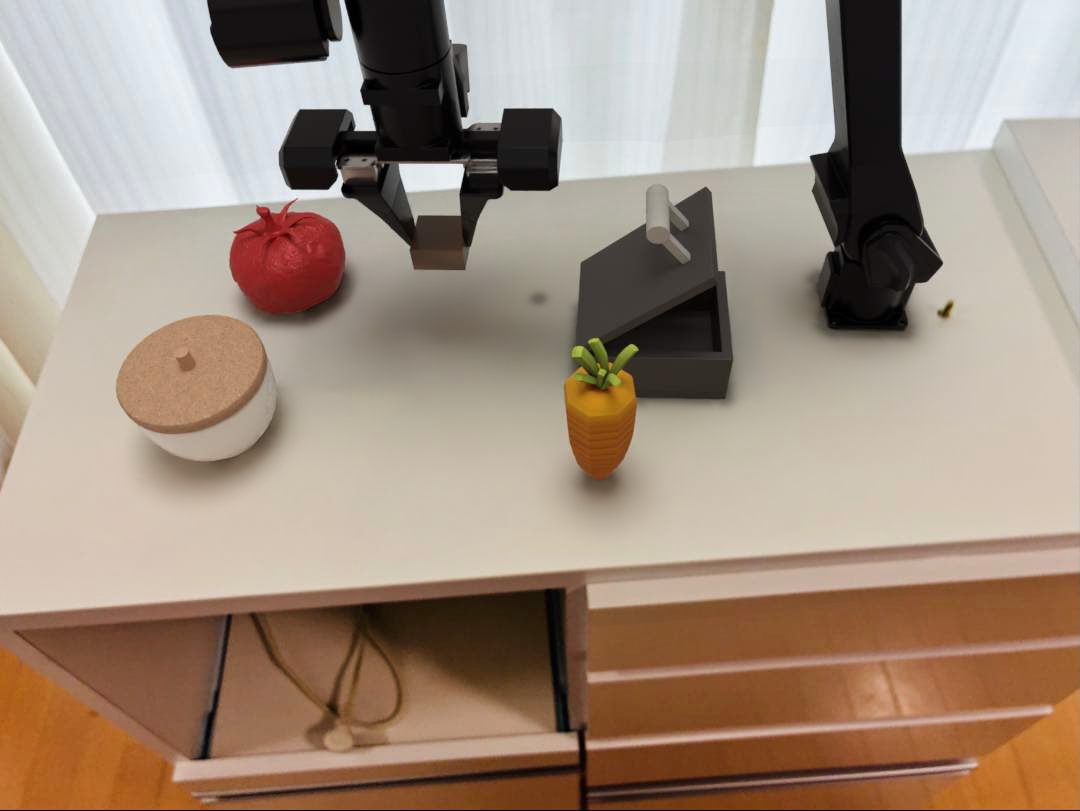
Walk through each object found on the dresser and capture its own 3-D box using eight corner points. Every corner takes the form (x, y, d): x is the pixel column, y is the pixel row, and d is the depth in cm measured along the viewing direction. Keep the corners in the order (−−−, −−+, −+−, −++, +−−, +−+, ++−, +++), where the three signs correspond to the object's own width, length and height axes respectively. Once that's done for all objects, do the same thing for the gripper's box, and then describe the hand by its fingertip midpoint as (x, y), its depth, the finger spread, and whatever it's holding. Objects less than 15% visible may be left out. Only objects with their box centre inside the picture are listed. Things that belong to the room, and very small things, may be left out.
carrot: (639, 458, 63) (651, 323, 51) (622, 513, 60) (629, 384, 48) (577, 443, 64) (573, 307, 52) (557, 496, 61) (548, 365, 49)
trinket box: (294, 367, 70) (258, 288, 62) (293, 472, 63) (253, 397, 56) (166, 388, 69) (115, 310, 62) (152, 496, 63) (92, 424, 55)
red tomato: (359, 314, 73) (333, 233, 66) (246, 337, 72) (207, 258, 65) (348, 242, 79) (323, 160, 72) (244, 263, 78) (207, 182, 71)
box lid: (712, 192, 61) (672, 148, 59) (720, 283, 56) (676, 239, 53) (586, 267, 68) (546, 231, 66) (581, 355, 63) (537, 320, 60)
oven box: (718, 311, 71) (725, 270, 67) (725, 399, 66) (733, 359, 62) (584, 309, 72) (583, 269, 68) (579, 395, 67) (578, 357, 63)
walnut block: (472, 235, 65) (469, 215, 63) (465, 270, 62) (462, 250, 61) (422, 234, 65) (417, 214, 63) (413, 270, 63) (409, 250, 61)
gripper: (563, -18, 54) (569, 176, 67) (290, -14, 56) (345, 176, 69) (552, 75, 48) (561, 272, 60) (242, 78, 49) (313, 269, 62)
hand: (441, 242), depth 63 cm, fingers closed on walnut block, 4 cm apart
